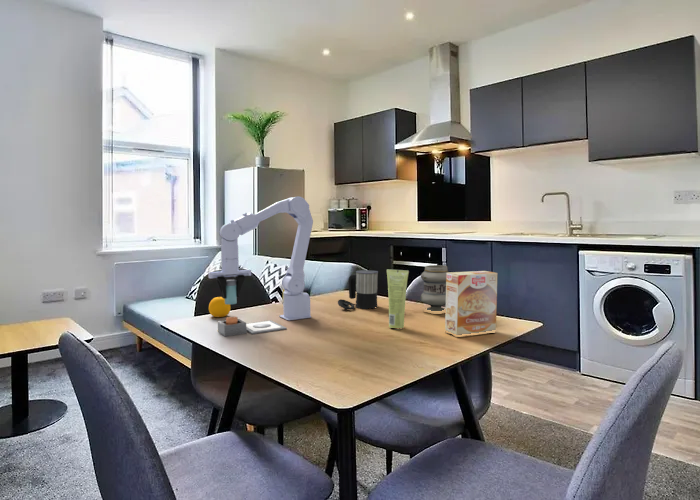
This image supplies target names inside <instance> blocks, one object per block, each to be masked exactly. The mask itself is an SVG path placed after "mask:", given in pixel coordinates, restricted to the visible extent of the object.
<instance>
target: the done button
mask: <svg viewBox="0 0 700 500" xmlns="http://www.w3.org/2000/svg"><path fill="white" fill-rule="evenodd" d="M238 319H239V318H238V316H226V317H225V320H226V325H228V324H236V323H238Z"/></svg>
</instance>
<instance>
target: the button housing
mask: <svg viewBox="0 0 700 500" xmlns="http://www.w3.org/2000/svg"><path fill="white" fill-rule="evenodd" d="M246 324H247V322H245V321H244V320H242V319H241V318H238V323H236V324H228V325H226V319H225V320H218V321H217V332H218V333H219V334H220V335H222V336H223V337H231V336H238V335H245V334H246V335H247V331H246Z"/></svg>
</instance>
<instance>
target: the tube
mask: <svg viewBox="0 0 700 500" xmlns="http://www.w3.org/2000/svg"><path fill="white" fill-rule="evenodd" d="M409 273H410V271H409V270H403V269H386V275H387V276H386V278H387V290H388V291H387V292H388V293H387V294H388V328H389V327H390V328H389V329H391V328H403V327H404V328H405V313H406V312H405V310H406V309H405V308H406V299H407V298H406V297H407V286H408V279H409ZM404 328H403V329H404Z"/></svg>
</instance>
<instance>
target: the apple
mask: <svg viewBox="0 0 700 500" xmlns="http://www.w3.org/2000/svg"><path fill="white" fill-rule="evenodd" d="M231 309H232V308H231V304H225V299H224V298H222V296H217V297H213V298H212V299H211V300H210V302H209V304H208V312H209V314H210V315H211V316H212V317H214V318H223V317H227V316H228V315H229V314H230V311H231Z"/></svg>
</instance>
